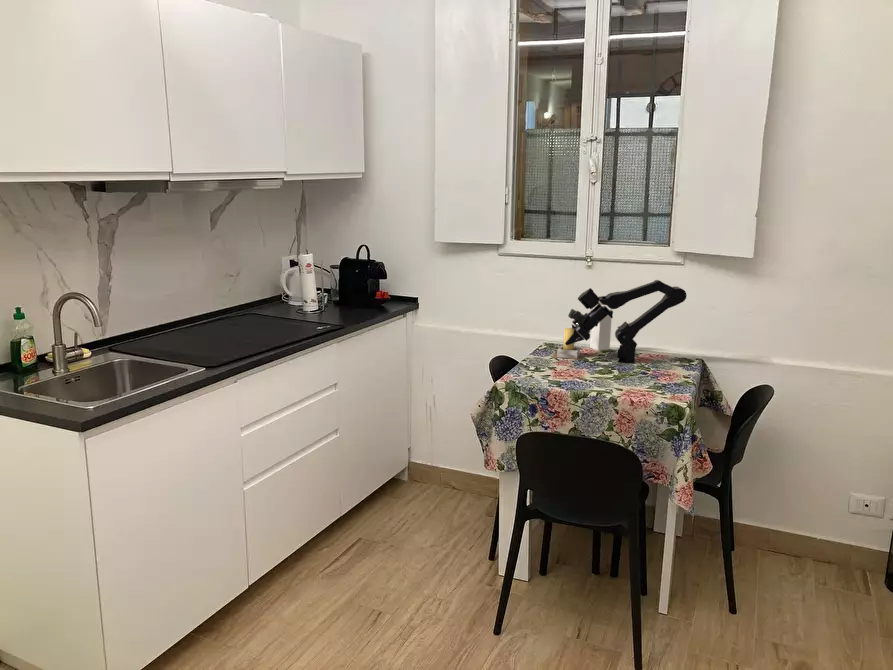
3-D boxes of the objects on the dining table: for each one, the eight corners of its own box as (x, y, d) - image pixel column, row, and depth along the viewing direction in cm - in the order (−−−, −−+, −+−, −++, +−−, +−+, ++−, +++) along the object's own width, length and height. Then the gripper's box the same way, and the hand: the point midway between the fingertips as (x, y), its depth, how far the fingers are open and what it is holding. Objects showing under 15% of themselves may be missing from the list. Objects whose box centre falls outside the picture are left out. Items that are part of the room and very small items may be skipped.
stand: (584, 357, 294) (585, 346, 293) (581, 363, 283) (581, 352, 282) (555, 354, 298) (556, 344, 297) (551, 361, 286) (551, 350, 286)
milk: (609, 352, 304) (613, 301, 299) (597, 353, 301) (601, 302, 297) (600, 349, 309) (604, 299, 305) (589, 350, 307) (592, 300, 302)
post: (574, 355, 292) (575, 328, 289) (573, 357, 287) (574, 330, 285) (563, 354, 293) (564, 327, 291) (562, 356, 289) (563, 329, 286)
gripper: (578, 299, 295) (550, 324, 298) (583, 306, 276) (553, 333, 279) (596, 318, 295) (568, 343, 299) (602, 327, 277) (572, 353, 280)
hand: (565, 343), depth 289 cm, fingers closed on post, 4 cm apart
